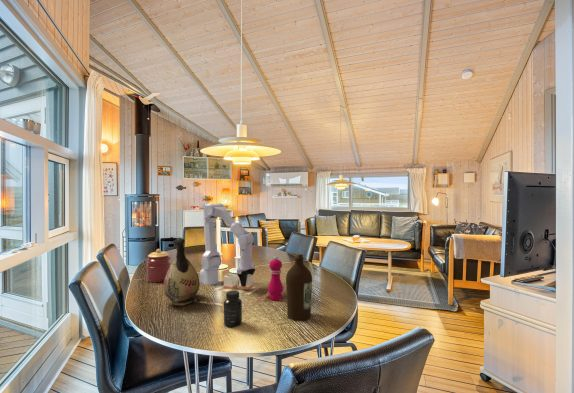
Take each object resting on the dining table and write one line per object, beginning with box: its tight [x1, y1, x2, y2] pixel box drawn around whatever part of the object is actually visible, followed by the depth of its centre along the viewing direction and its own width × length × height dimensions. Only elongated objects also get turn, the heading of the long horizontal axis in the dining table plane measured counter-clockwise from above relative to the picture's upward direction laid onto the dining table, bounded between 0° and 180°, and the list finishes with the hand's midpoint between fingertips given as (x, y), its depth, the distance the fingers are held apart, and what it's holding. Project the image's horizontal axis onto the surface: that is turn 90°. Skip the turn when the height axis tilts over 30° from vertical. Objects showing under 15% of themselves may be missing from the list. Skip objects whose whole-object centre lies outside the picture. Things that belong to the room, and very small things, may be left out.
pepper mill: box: [267, 256, 284, 302], centre depth 139 cm, size 7×7×20 cm
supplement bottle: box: [223, 291, 243, 328], centre depth 112 cm, size 7×7×12 cm
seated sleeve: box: [223, 273, 239, 289], centre depth 151 cm, size 5×5×6 cm
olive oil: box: [285, 253, 313, 322], centre depth 119 cm, size 11×11×25 cm
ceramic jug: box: [163, 237, 201, 306], centre depth 133 cm, size 17×15×30 cm
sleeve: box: [238, 274, 254, 290], centre depth 147 cm, size 5×5×6 cm
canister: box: [145, 248, 172, 283], centre depth 170 cm, size 13×13×18 cm
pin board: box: [214, 284, 261, 296], centre depth 149 cm, size 20×12×6 cm, turn 68°
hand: (246, 284), depth 147 cm, fingers closed on sleeve, 5 cm apart
